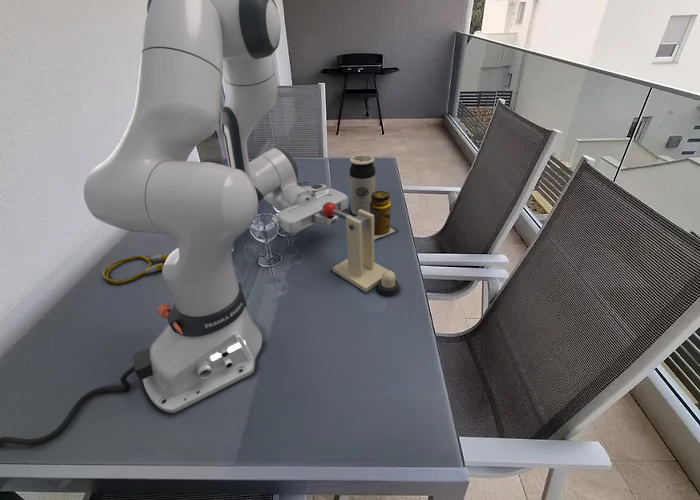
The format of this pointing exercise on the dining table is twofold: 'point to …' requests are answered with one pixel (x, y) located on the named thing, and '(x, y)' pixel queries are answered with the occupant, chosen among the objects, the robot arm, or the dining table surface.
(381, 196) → the condiment
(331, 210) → the switch lever
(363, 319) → the dining table surface
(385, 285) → the pilot lamp
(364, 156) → the travel mug
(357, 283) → the switch bracket
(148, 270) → the extension cord
